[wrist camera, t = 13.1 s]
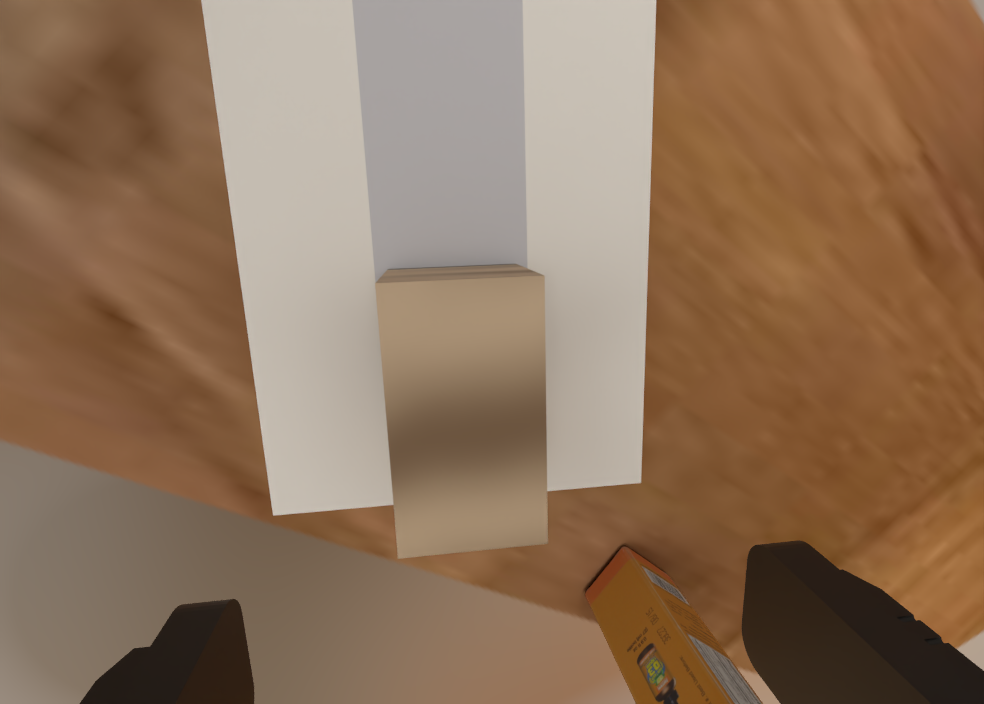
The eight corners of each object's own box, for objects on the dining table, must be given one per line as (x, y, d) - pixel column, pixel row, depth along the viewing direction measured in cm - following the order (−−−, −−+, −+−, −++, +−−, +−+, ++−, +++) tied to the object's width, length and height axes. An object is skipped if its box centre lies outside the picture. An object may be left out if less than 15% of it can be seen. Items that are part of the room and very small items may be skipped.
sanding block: (388, 269, 21) (374, 283, 16) (515, 263, 22) (544, 275, 16) (404, 482, 23) (397, 558, 18) (520, 472, 24) (548, 543, 18)
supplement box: (632, 622, 28) (743, 837, 18) (581, 590, 27) (669, 796, 17) (674, 574, 27) (811, 766, 18) (624, 540, 26) (738, 721, 17)
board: (184, -214, 18) (167, -245, 17) (649, -192, 20) (663, -218, 19) (280, 501, 24) (273, 515, 23) (631, 471, 26) (641, 482, 24)
